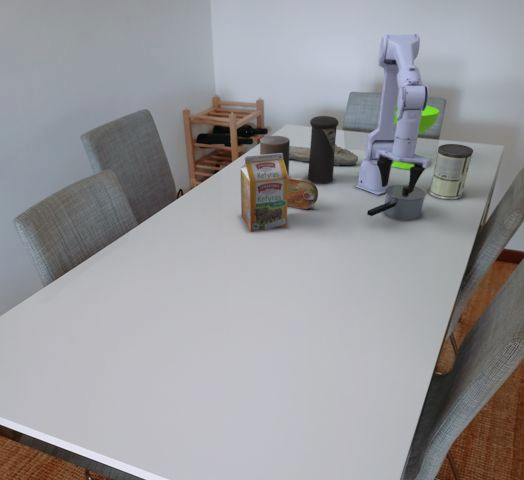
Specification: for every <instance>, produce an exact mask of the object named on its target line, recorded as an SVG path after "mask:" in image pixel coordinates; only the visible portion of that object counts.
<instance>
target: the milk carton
mask: <svg viewBox="0 0 524 480" xmlns="http://www.w3.org/2000/svg"><path fill="white" fill-rule="evenodd" d="M287 201H288V174H287V170H286V167H285V163H284V160H283V154H282V153H278V154H266V155H260V154H255V155H246V156H244V161H243V163H242V164H241V165H240V206H241V207H240V208H241V218H242V220H243V221H244V224H245V225H246V227H247V229H248V231H249V232H250V233H252V232H260V231H269V230H276V229H277V230H278V229H287V228H288V227H287V224H288V206H287Z"/></svg>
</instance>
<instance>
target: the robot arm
mask: <svg viewBox="0 0 524 480" xmlns="http://www.w3.org/2000/svg"><path fill="white" fill-rule="evenodd" d="M420 45H421V38H420V36H419V34H418V33H415V34H388V33H384V34H383V35H382V37H381V39H380V43H379V51H378V52H379V53H378V66H379V67H380V68H382V69H383V82H382V90H381V98H380V107H379V114H378V123H377V128H375V129H374V130H372V131H371V132H370V133H369V134H368V135H367V138H366V143H365V149H364V157H365V159H364V160H362V162H361V164H360V167H359V174H358V182H357V185H356V186H355V187H356V188H358V189H361V190H363V191H366V192H369V193H371V194H374V195H376V196H380V195H382V194H386V192H385V191H386V188H387V187H389V186H390V185H389V184H390V177H391V171H392V166H391V165H392V164H393V162H394V161H398V162H403V163H408V164H412V165H414V166H413V167H411V168H410V169H409V182H408V185H409V186H408V193H411V192H413V190H414V187H415V186H416V185H417V183H418V181H419V180H420V179H419V178H420V177H421V175H422V174H423V173H424V172H425V170H426V169H428V168H429V167H430V164H431V159H432V158H429V157H425V156H423V155H420V154H417V153H416V147H417V142H418V136H419V134H418V132H419V126H420V121H421V115H422V112H421V110H422V111H424V110H425V108H426V106H428V102H429V86H428V85H427V84H425V83H423V81H422V76H421V72H420V68H419V67H418V66H417V65H415V60H416V59H417V57H418V55H419V51H420ZM397 105H398V107H397V117H398V119H397V125H396V124H395V122H394V118H395V111H396V106H397ZM394 124H395V129H394ZM416 154H417V155H416ZM419 155H420V156H419ZM422 156H423V157H422Z"/></svg>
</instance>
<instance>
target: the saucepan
mask: <svg viewBox="0 0 524 480" xmlns="http://www.w3.org/2000/svg"><path fill="white" fill-rule="evenodd" d="M388 186H389V187H387V188H386V191H385V198H384V203H383V204H380V205H378V206H375V207H372V208H371V209H368V210H367V211H366V213H367V216H370V217H373V216H375V215H379V214H381V213H383V214H384V215H385V216H386V217H388V218H392V219H393V220H394V219H395V220H398V221H413V220H417V219H419V218H420V217H421V215H422V210H423V205H424V201H425V198H426V196H427V192H426V190H424V189H423V188H421V187H418V186H416V185H415V187H414V190H413V192H411V193H408V186H409V184H392V185H388Z"/></svg>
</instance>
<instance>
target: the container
mask: <svg viewBox="0 0 524 480" xmlns="http://www.w3.org/2000/svg"><path fill="white" fill-rule="evenodd" d="M339 124H340V123H339V120H338V118H336V117H335V116H334V117H333V116H329V115H319V116H317V115H316V116H314V117H312V118H311V119H310V121H309V125H310V126H311V133H310V135H311V136H310V147H309V148H310V159H309V162H308V170H307V180H309V181H311V182H313V183H314V184H319V185H320V184H321V185H323V184H330V183H332V182H333V180H334V166H335V165H334V154H335V144H336V138H337V127H338V126H339Z"/></svg>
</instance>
